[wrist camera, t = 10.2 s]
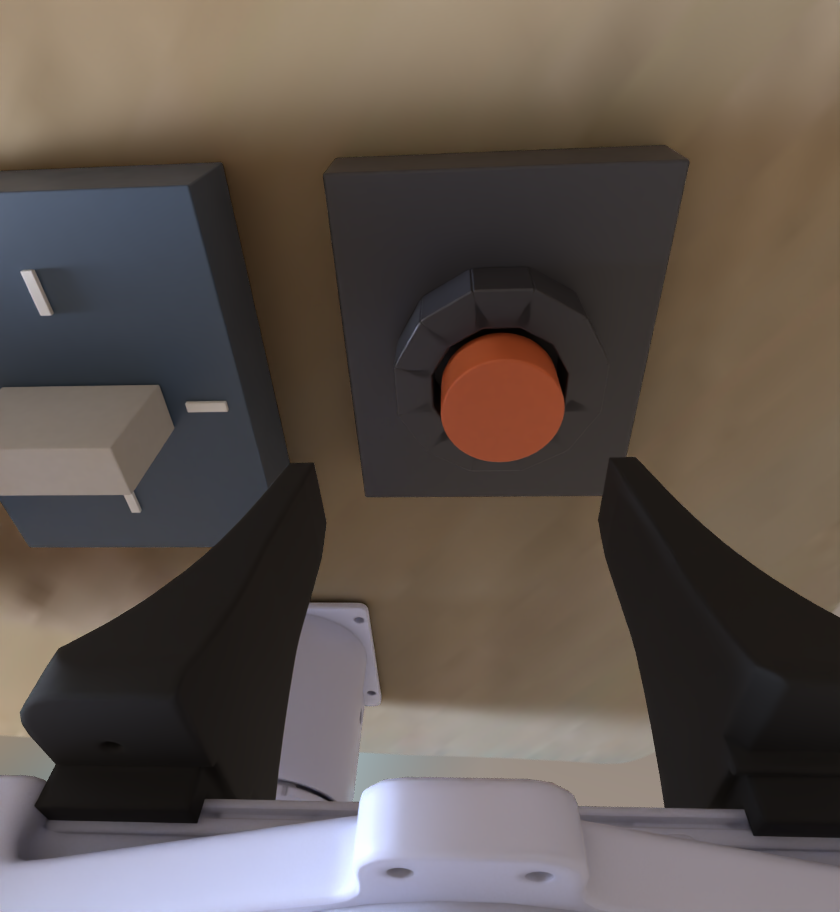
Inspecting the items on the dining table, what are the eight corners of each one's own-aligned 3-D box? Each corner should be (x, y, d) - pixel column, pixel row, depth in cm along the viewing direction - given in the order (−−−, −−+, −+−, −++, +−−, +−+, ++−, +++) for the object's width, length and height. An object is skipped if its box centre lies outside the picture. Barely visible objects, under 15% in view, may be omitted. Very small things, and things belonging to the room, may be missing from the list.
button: (550, 430, 19) (558, 462, 18) (442, 431, 20) (441, 464, 18) (562, 330, 17) (572, 358, 16) (440, 333, 18) (439, 361, 16)
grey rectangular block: (159, 384, 20) (106, 453, 17) (175, 428, 21) (127, 501, 18) (2, 386, 20) (-79, 454, 17) (26, 430, 21) (-46, 501, 18)
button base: (606, 462, 25) (629, 529, 22) (370, 464, 25) (359, 529, 22) (667, 144, 17) (715, 174, 14) (334, 157, 18) (309, 189, 15)
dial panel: (298, 499, 27) (283, 550, 24) (65, 501, 27) (27, 550, 25) (222, 161, 18) (186, 186, 16) (-113, 175, 19) (-200, 200, 16)
